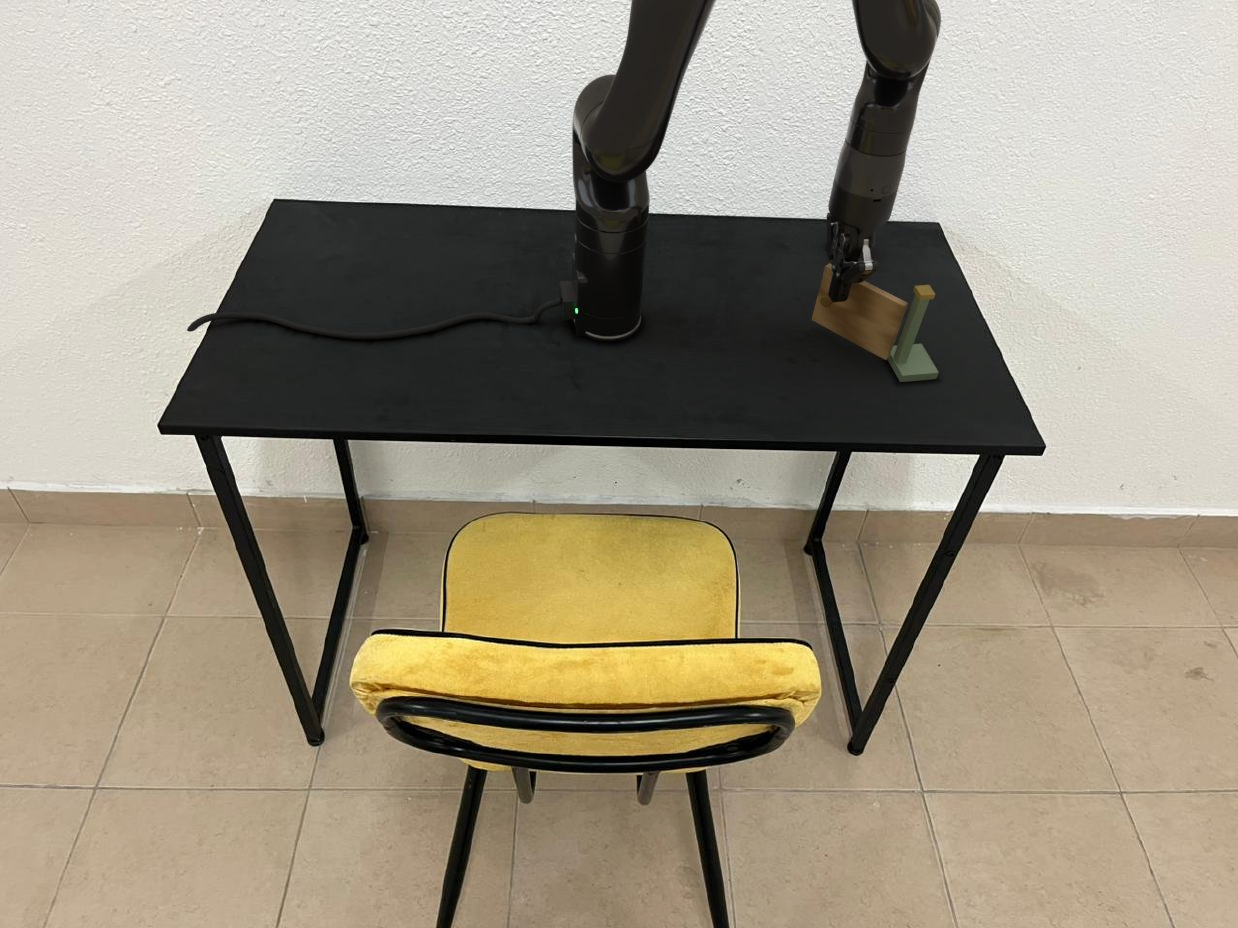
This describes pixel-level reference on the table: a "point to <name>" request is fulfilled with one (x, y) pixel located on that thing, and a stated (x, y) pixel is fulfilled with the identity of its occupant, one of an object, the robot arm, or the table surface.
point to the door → (861, 315)
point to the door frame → (911, 357)
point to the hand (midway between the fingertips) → (837, 298)
